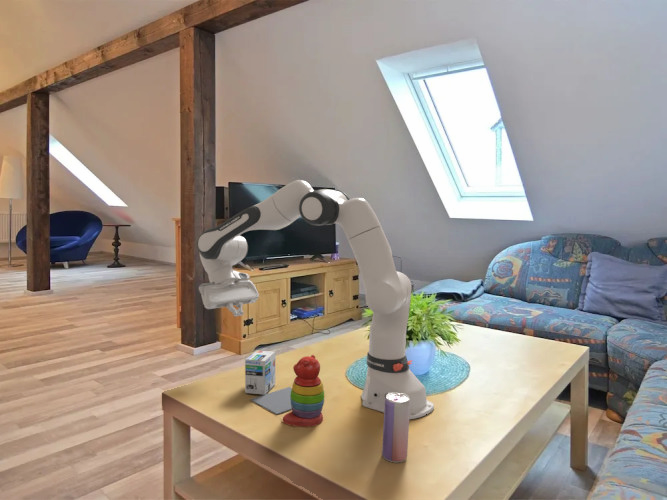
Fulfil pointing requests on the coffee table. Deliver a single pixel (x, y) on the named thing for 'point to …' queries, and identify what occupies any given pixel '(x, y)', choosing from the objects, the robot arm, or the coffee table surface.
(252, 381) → the light bulb box
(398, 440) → the beverage can
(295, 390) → the stacking bear
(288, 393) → the mat
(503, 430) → the coffee table surface
